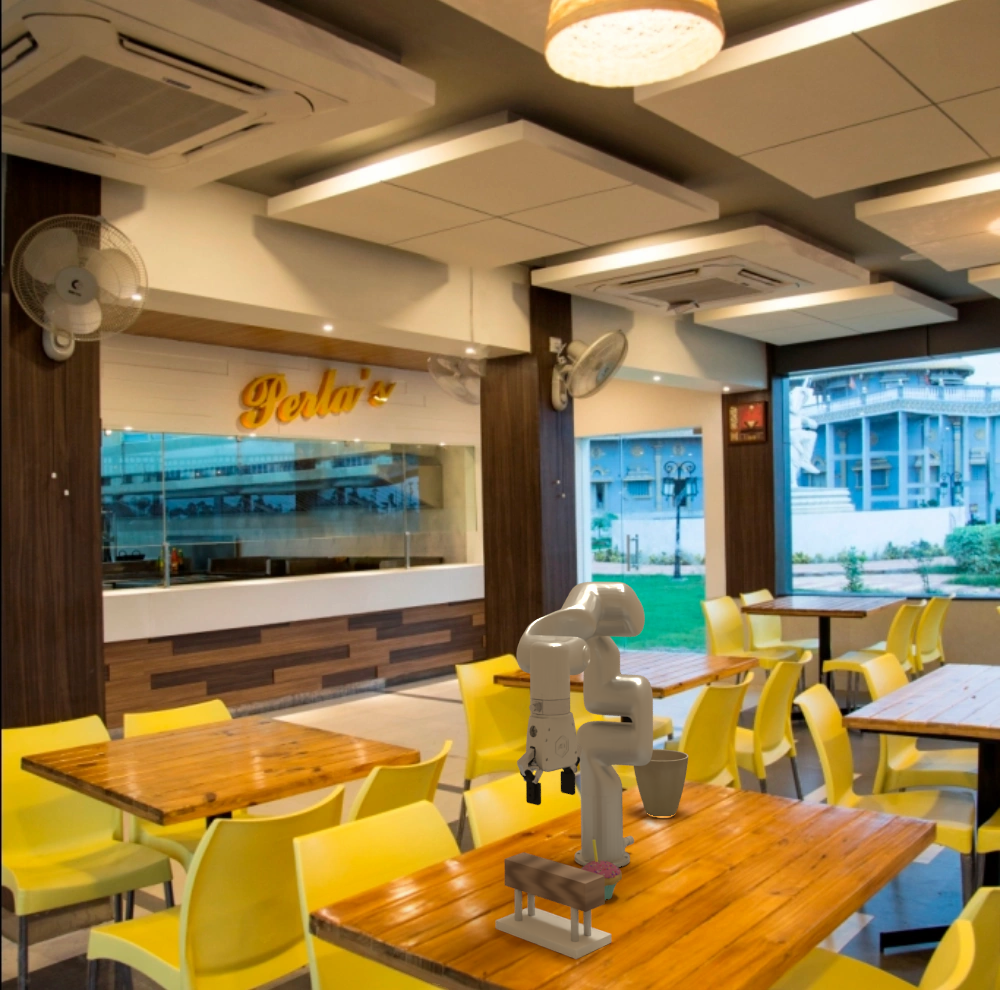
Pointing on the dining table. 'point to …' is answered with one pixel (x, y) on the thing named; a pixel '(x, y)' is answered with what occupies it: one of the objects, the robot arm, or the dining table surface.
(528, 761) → the robot arm
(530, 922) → the peg stand
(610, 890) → the cupcake
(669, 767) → the plant pot
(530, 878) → the wooden block
